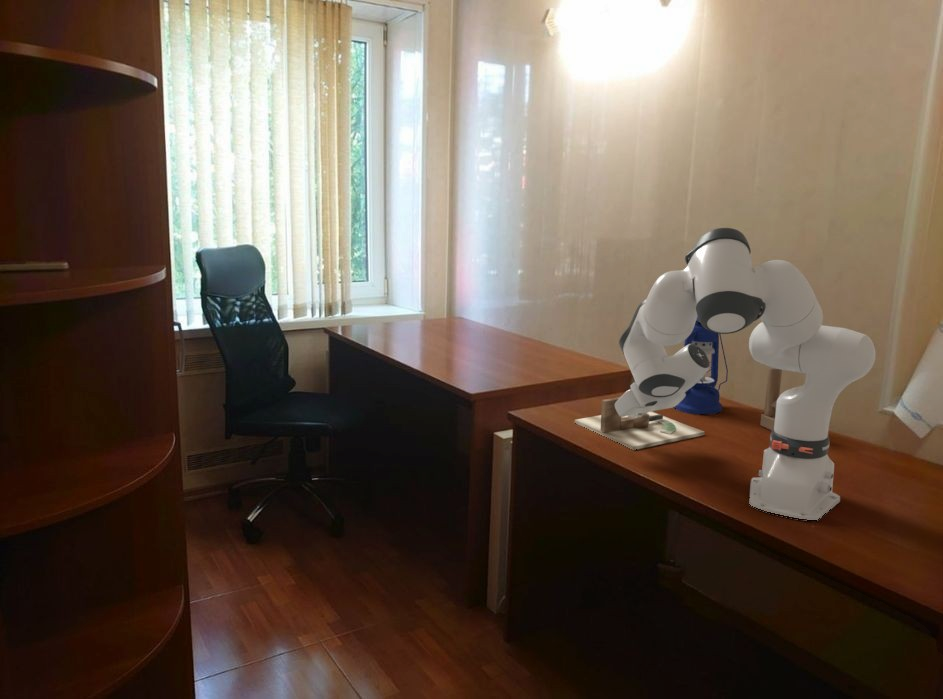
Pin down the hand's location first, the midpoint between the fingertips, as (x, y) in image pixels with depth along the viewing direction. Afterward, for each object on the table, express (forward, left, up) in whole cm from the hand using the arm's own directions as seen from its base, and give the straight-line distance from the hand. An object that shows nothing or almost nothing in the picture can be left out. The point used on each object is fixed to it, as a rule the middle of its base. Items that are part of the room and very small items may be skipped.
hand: (634, 415), depth 193 cm
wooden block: (+33, -31, -8) cm, 46 cm away
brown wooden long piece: (+10, +4, -7) cm, 13 cm away
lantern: (+43, -5, -8) cm, 44 cm away
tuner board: (+12, +3, -8) cm, 15 cm away
